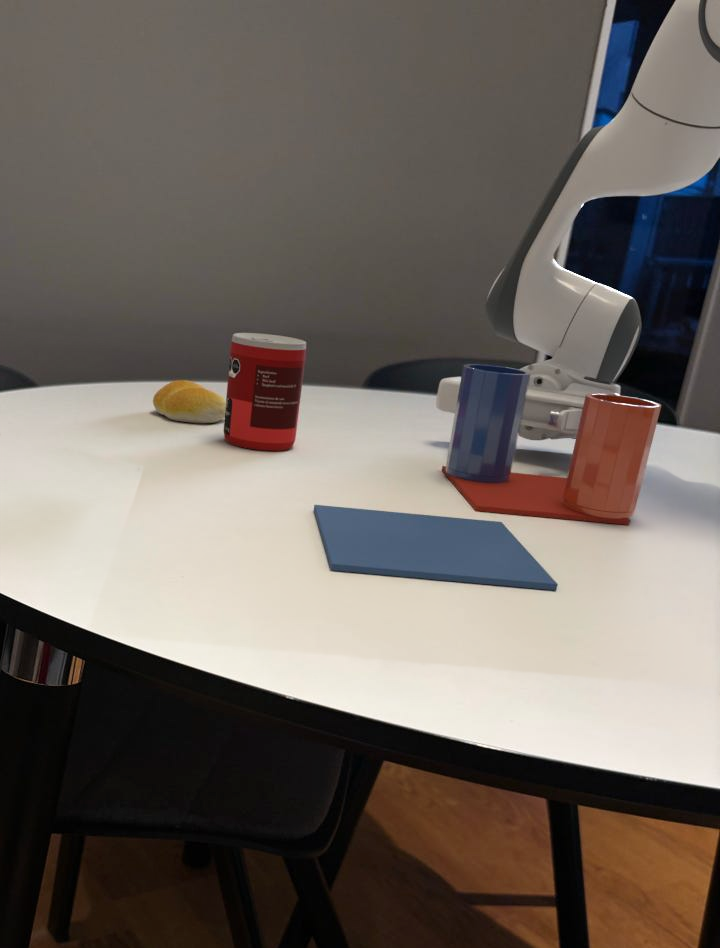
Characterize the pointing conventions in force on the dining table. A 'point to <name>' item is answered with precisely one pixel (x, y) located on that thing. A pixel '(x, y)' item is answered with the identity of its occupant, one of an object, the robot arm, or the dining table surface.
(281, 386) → the canned food
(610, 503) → the red cup
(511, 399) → the blue cup
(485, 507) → the red mat
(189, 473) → the dining table surface
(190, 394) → the bread roll
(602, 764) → the dining table surface
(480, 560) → the blue mat
